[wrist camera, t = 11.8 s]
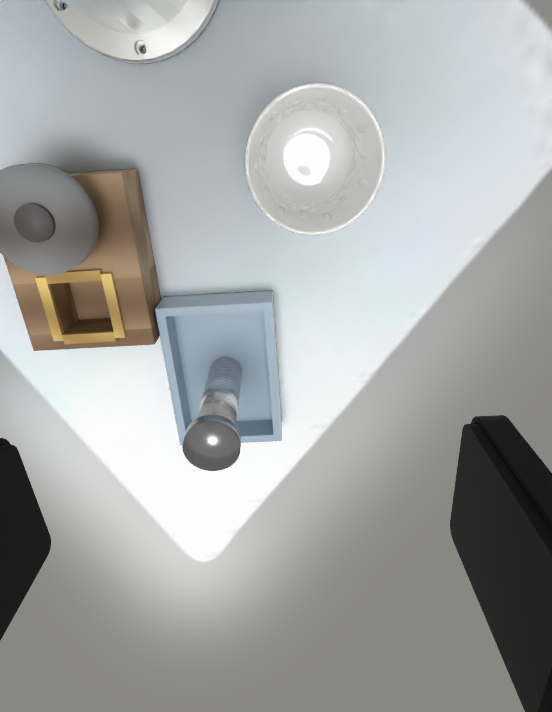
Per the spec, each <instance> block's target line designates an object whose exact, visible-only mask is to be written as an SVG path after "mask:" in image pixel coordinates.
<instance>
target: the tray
mask: <svg viewBox="0 0 552 712" xmlns="http://www.w3.org/2000/svg"><path fill="white" fill-rule="evenodd" d="M155 311H156V317H157V322H158V327H159V333H160V338H161V343H162V349H163V354H164V360H165V365H166V370H167V376H168V381H169V386H170V392H171V397H172V402H173V408H174V413H175V418H176V424H177V429H178V434H179V440H180V445H183V441H184V437H185V434H186V430H187V428H188V426H189V425H190V423H191V422H192V421H194V420H195V419H197V416H198V412H199V408H200V404H201V400H202V397H203V393H204V389H205V385H206V381H207V377H208V373H209V370H210V366H211V364H212V363H213V362H214V361H215V360H216V359H218V358H221V357H229V358H232V359H234V360H236V361H237V362H238V363H239V364H240V365H241V367H242V381H241V389H240V397H239V405H238V413H237V421H236V426H237V427H238V429H239V431H240V434H241V443H243V442H266V441H282V419H281V404H280V390H279V375H278V361H277V346H276V332H275V317H274V303H273V290H272V291H255V292H237V293H220V294H202V295H185V296H167V297H163V299H162V300H161V301H160V303H159V304H158V306H157V307H156V308H155Z"/></svg>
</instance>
